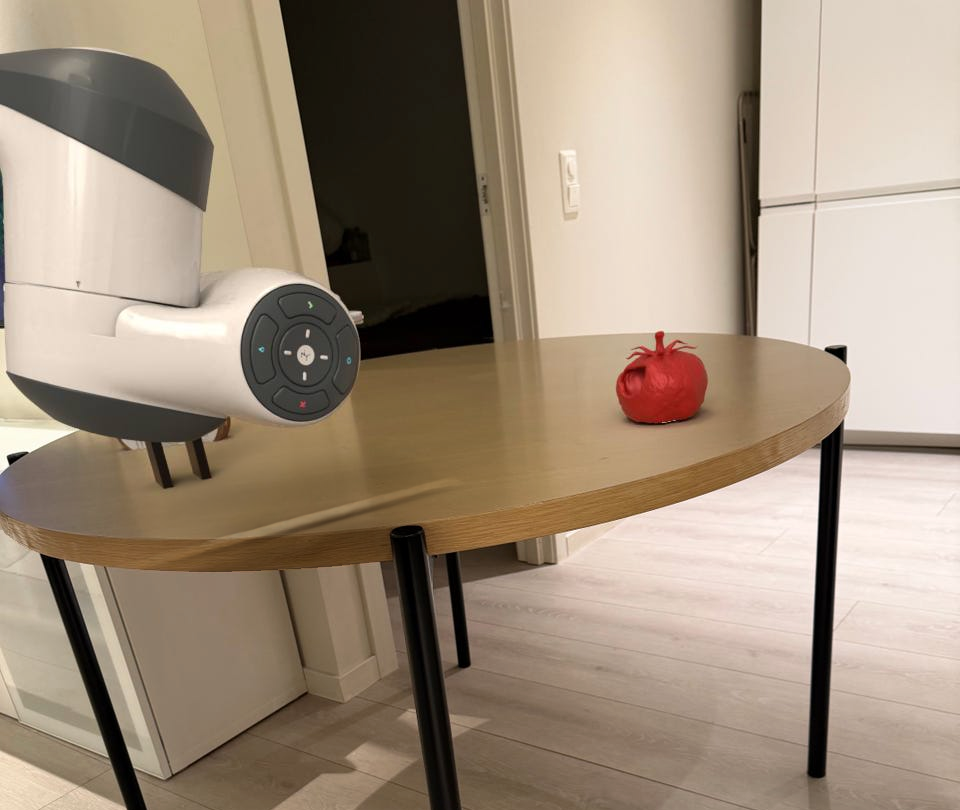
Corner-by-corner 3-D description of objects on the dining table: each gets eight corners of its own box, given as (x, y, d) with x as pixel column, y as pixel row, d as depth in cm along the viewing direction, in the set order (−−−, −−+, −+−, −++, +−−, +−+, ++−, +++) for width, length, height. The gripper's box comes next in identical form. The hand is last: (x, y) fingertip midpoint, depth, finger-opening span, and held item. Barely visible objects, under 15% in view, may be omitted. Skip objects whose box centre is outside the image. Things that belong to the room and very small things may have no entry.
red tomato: (704, 404, 102) (703, 319, 98) (712, 423, 94) (711, 331, 90) (618, 412, 104) (613, 329, 100) (617, 431, 95) (612, 341, 91)
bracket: (235, 491, 92) (196, 332, 86) (157, 509, 89) (111, 346, 82) (212, 475, 100) (175, 328, 94) (140, 491, 97) (96, 341, 90)
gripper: (364, 269, 62) (302, 273, 73) (55, 316, 54) (38, 312, 65) (380, 362, 65) (317, 352, 76) (87, 420, 57) (66, 399, 68)
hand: (186, 334), depth 71 cm, fingers closed
